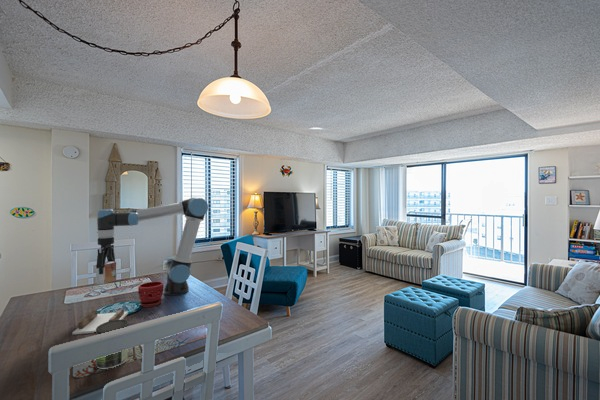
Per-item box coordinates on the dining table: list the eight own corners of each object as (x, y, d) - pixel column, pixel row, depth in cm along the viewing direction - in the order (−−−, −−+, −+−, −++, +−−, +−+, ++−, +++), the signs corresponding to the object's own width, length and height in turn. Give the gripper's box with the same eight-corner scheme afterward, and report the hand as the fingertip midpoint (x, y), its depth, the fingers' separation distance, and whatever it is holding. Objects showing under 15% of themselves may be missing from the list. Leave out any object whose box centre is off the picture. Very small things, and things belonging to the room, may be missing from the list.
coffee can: (108, 372, 99) (108, 334, 99) (89, 366, 103) (89, 328, 103) (134, 357, 109) (134, 321, 109) (116, 351, 112) (116, 317, 112)
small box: (104, 284, 149) (103, 265, 149) (95, 283, 150) (95, 264, 150) (116, 279, 157) (116, 261, 157) (108, 279, 158) (108, 261, 158)
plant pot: (168, 301, 167) (168, 281, 167) (150, 309, 154) (150, 288, 154) (151, 298, 171) (151, 279, 171) (132, 306, 159) (132, 286, 159)
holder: (94, 316, 146) (94, 308, 146) (128, 313, 149) (128, 306, 149) (72, 334, 126) (72, 325, 126) (111, 331, 130) (111, 322, 130)
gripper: (107, 234, 163) (107, 272, 164) (87, 240, 142) (88, 283, 142) (121, 234, 165) (121, 271, 165) (104, 240, 144) (104, 282, 144)
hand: (106, 277), depth 154 cm, fingers closed on small box, 9 cm apart
